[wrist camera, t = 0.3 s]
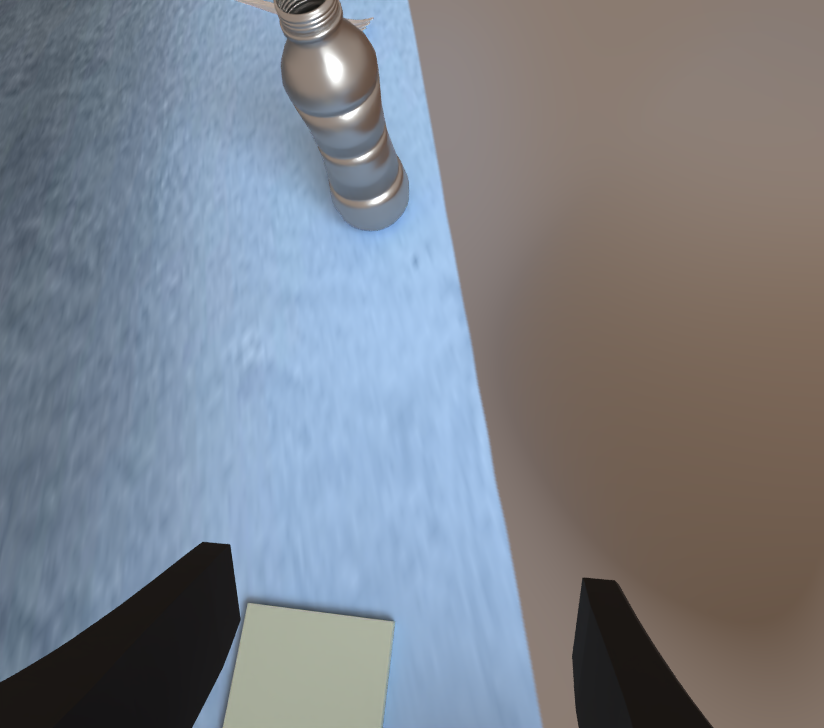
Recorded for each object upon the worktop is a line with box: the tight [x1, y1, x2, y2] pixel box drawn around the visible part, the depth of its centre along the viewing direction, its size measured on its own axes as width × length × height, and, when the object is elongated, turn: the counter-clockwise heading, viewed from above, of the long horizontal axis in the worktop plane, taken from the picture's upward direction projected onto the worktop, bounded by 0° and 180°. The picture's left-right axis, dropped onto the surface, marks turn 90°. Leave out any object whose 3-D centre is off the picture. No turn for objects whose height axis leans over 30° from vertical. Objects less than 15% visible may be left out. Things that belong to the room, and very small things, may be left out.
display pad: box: [223, 603, 395, 728], centre depth 40 cm, size 10×10×1 cm
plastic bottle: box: [274, 0, 409, 231], centre depth 45 cm, size 6×7×20 cm
